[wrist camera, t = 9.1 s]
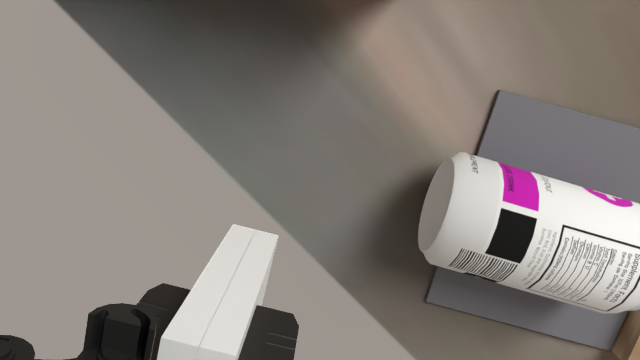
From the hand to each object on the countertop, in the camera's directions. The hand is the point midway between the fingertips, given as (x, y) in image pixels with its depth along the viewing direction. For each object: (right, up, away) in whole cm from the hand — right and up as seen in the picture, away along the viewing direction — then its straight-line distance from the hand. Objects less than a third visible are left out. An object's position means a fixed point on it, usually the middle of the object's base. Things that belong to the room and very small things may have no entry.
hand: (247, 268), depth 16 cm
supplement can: (+10, +1, +19) cm, 22 cm away
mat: (+21, -1, +24) cm, 32 cm away
